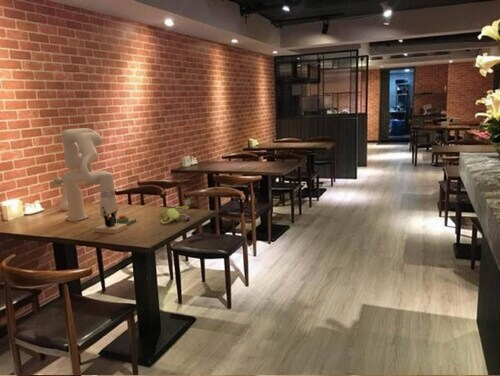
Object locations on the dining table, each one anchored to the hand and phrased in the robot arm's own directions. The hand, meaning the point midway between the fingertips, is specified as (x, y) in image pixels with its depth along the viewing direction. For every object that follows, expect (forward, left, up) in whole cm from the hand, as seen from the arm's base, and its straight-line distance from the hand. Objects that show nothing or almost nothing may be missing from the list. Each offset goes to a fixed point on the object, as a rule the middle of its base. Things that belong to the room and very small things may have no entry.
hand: (110, 224), depth 246 cm
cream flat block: (0, 0, -4) cm, 4 cm away
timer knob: (0, 0, -1) cm, 1 cm away
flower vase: (-66, +36, -4) cm, 75 cm away
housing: (-2, +14, -4) cm, 15 cm away
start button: (-2, +14, 0) cm, 14 cm away
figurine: (+24, +32, -4) cm, 40 cm away
